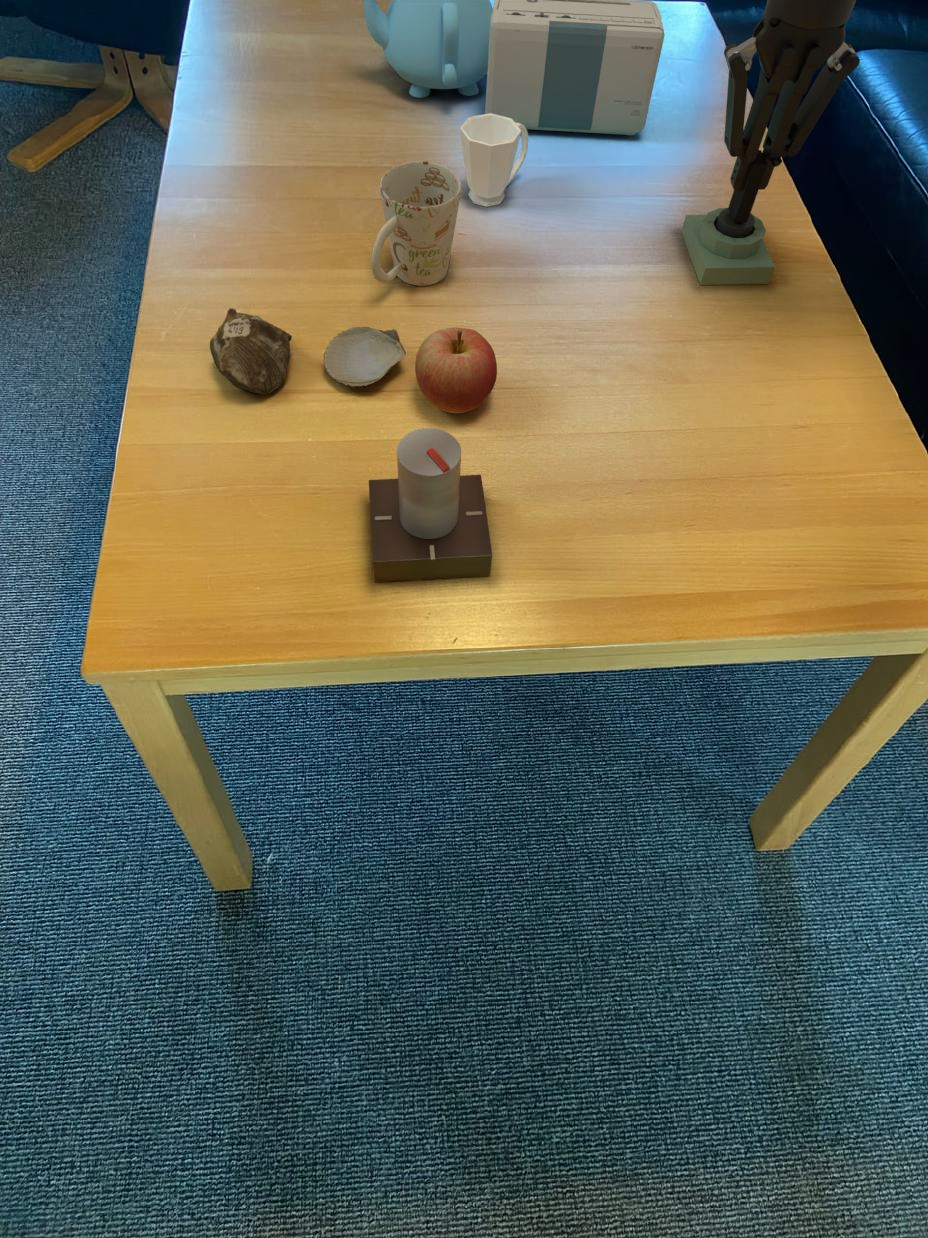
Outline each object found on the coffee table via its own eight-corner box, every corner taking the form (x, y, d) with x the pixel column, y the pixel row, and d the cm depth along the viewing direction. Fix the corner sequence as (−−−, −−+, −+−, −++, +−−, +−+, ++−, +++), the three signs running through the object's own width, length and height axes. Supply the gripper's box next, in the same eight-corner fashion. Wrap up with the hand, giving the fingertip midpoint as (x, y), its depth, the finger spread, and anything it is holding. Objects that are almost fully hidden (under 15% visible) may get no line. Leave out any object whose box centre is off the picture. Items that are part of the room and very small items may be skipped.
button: (752, 244, 94) (759, 228, 92) (718, 245, 93) (724, 228, 92) (743, 223, 96) (749, 206, 94) (710, 224, 95) (715, 207, 94)
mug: (471, 263, 94) (476, 178, 86) (410, 323, 89) (408, 238, 80) (411, 237, 97) (409, 151, 88) (346, 295, 91) (338, 208, 82)
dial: (388, 509, 71) (384, 440, 64) (437, 485, 73) (438, 416, 66) (420, 548, 69) (419, 482, 62) (469, 523, 71) (474, 455, 64)
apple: (449, 359, 86) (451, 293, 79) (510, 395, 83) (517, 330, 77) (398, 400, 82) (395, 335, 76) (459, 439, 80) (462, 375, 73)
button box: (768, 283, 95) (781, 252, 91) (700, 285, 94) (710, 253, 91) (745, 230, 100) (757, 199, 96) (681, 231, 99) (690, 199, 96)
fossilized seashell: (223, 307, 85) (190, 385, 81) (242, 271, 80) (207, 352, 76) (290, 345, 88) (261, 421, 84) (313, 312, 83) (283, 392, 79)
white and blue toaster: (484, 134, 109) (494, -50, 92) (485, 101, 113) (495, -80, 96) (642, 143, 109) (682, -39, 92) (637, 110, 114) (674, -69, 97)
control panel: (479, 495, 76) (481, 472, 74) (490, 577, 72) (492, 555, 69) (370, 500, 76) (368, 477, 73) (374, 583, 71) (372, 562, 68)
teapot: (351, 80, 115) (343, -42, 103) (445, 33, 123) (448, -84, 111) (438, 126, 110) (440, 3, 98) (530, 74, 118) (542, -45, 106)
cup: (446, 194, 101) (447, 126, 95) (502, 164, 105) (507, 97, 98) (487, 220, 99) (491, 152, 92) (543, 188, 103) (551, 120, 96)
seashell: (326, 363, 87) (333, 401, 82) (317, 336, 85) (324, 374, 80) (401, 342, 88) (413, 379, 82) (395, 315, 85) (406, 351, 80)
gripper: (880, -56, 75) (784, 194, 95) (740, -58, 74) (673, 195, 94) (910, -18, 71) (803, 234, 91) (763, -20, 70) (687, 236, 90)
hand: (737, 214), depth 93 cm, fingers closed
